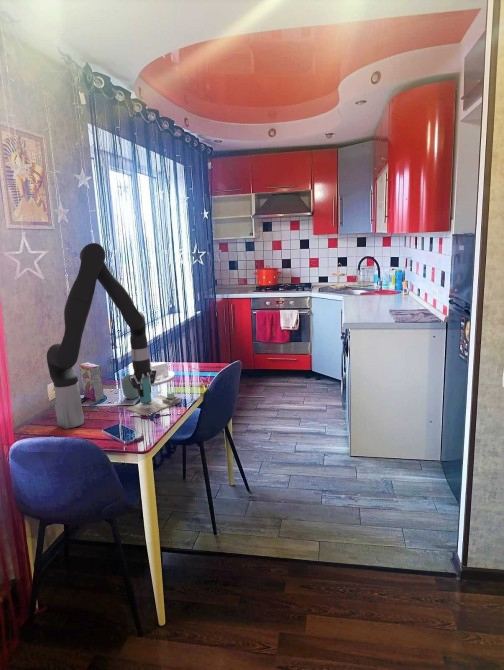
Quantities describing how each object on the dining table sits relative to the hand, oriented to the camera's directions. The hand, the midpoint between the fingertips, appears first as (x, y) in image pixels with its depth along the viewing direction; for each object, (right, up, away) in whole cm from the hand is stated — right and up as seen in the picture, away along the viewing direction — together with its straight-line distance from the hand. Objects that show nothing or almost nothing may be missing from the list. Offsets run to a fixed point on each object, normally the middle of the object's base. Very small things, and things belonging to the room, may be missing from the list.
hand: (145, 395), depth 206 cm
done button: (+11, -2, +1) cm, 11 cm away
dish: (-6, +3, +40) cm, 41 cm away
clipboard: (+4, -5, -1) cm, 6 cm away
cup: (-9, -3, +12) cm, 15 cm away
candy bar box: (-27, -3, +15) cm, 31 cm away
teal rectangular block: (0, -3, +1) cm, 3 cm away
